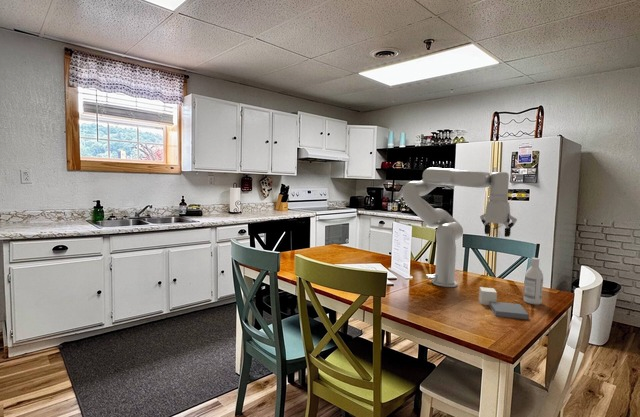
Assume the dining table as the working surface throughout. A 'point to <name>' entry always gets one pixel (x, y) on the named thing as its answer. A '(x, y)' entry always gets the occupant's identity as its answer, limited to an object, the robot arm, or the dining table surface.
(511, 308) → the tile
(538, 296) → the bath foam
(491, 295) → the block
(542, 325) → the dining table surface
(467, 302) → the dining table surface
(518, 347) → the dining table surface
